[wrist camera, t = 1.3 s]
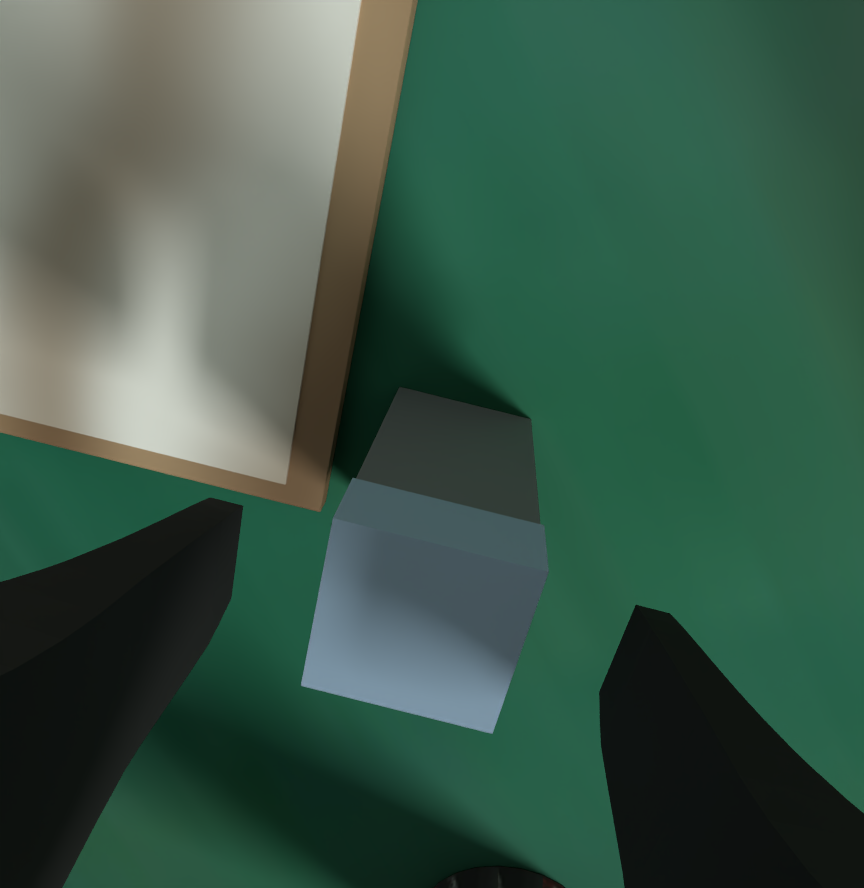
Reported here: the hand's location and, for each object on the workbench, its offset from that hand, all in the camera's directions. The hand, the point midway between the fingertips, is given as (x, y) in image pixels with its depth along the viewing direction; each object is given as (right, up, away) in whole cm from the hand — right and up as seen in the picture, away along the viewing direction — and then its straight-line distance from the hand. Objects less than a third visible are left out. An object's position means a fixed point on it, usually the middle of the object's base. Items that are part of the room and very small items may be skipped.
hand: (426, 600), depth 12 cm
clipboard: (-7, +10, +3) cm, 12 cm away
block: (+1, +2, +6) cm, 6 cm away
